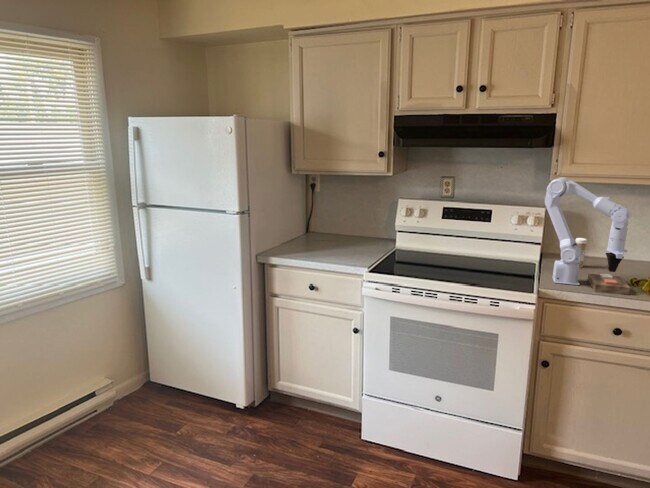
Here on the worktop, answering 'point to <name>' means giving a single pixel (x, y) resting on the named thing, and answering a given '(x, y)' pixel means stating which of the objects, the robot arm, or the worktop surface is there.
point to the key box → (608, 285)
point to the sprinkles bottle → (582, 244)
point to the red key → (610, 281)
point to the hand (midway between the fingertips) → (611, 271)
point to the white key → (606, 276)
